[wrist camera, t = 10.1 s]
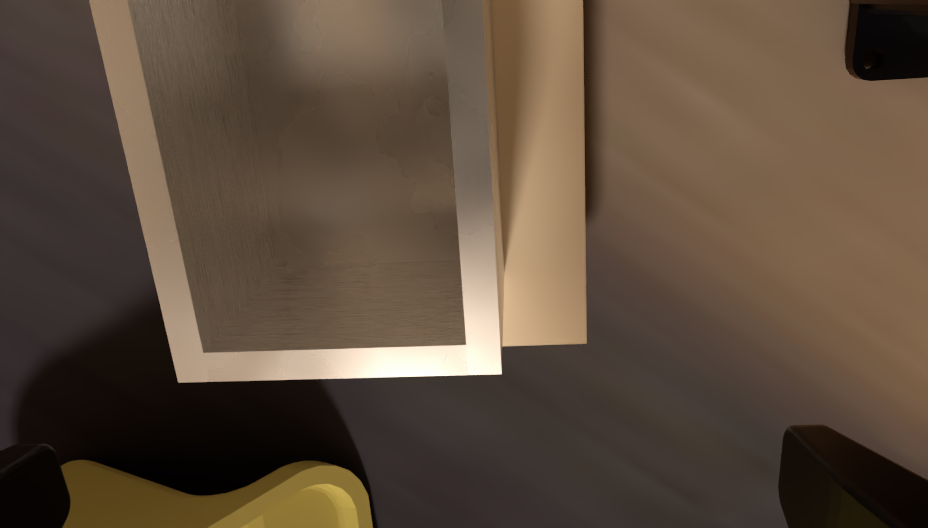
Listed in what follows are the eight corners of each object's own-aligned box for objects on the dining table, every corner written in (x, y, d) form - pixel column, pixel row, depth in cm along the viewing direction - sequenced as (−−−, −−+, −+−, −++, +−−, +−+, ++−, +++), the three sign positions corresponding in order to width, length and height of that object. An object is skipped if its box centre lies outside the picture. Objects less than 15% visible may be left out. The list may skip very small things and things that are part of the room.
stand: (567, -281, 16) (579, -341, 13) (576, 296, 21) (586, 343, 18) (138, -236, 17) (62, -283, 14) (243, 309, 21) (203, 356, 19)
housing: (504, 272, 17) (501, 374, 13) (265, 282, 18) (178, 382, 13) (481, -204, 14) (466, -306, 9) (185, -176, 14) (29, -261, 10)
